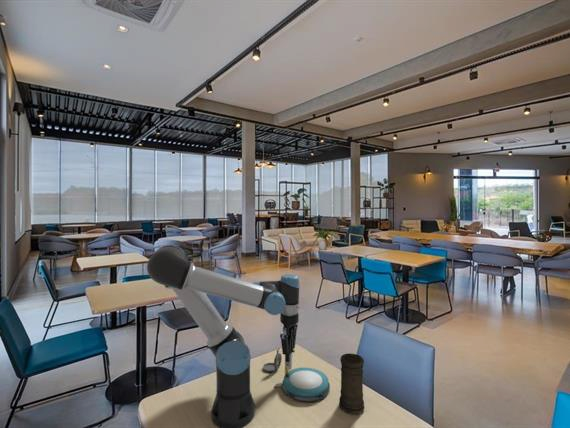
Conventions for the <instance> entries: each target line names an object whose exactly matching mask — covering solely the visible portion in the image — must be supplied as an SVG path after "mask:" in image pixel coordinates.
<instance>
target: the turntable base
mask: <svg viewBox="0 0 570 428" xmlns="http://www.w3.org/2000/svg"><path fill="white" fill-rule="evenodd" d="M275 387H279V388H280V387H281V388H282V393H284V395H285V396H286V397H287V398H289V399H290V400H292V401H295V402H298V403H301V404H302V403H305V404H309V403H311V404H313V403H317V402H321V401H323V400H324V399H325V398H327V397H328V396H329V394H330V390H331V388H330V387H331V386H330V381H328V389H327V390H326V391H325V392H324V393H323V394H321V395H319V396H315V397H300V396H296V395H294V394H291V393H290V392H288V391H287V390H286V388H285V387H284V379H283V380H282V382H279V381H278V382H277V381H276V382H275Z"/></svg>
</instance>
